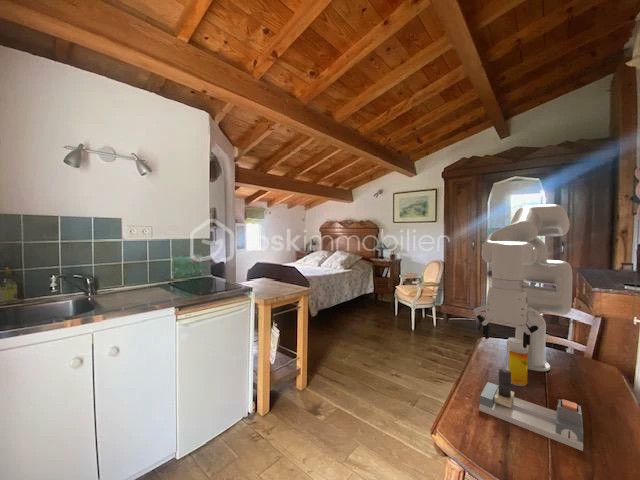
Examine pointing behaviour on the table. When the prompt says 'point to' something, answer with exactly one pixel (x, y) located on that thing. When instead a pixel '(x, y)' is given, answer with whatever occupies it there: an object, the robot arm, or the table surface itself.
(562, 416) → the rail base
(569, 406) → the button
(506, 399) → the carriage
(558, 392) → the table surface
